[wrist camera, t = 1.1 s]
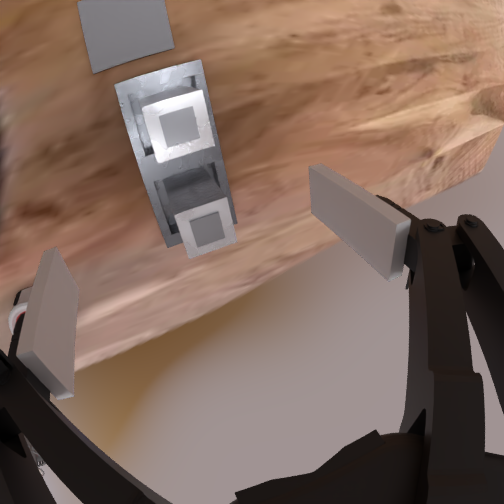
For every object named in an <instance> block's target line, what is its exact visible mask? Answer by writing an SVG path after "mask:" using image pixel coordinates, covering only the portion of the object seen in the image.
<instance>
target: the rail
mask: <svg viewBox="0 0 504 504" xmlns="http://www.w3.org/2000/svg"><path fill="white" fill-rule="evenodd" d="M114 85H115V89H116V93H117V96H118V100H119V104H120V107H121V111H122V114H123V117H124V121H125V124H126V128H127V131H128V134H129V137H130V141H131V144H132V147H133V150H134V153H135V157H136V160H137V163H138V166H139V169H140V172H141V175H142V178H143V181H144V184H145V187H146V190H147V193H148V196H149V198H150V201H151V204H152V207H153V210H154V213H155V215H156V218H157V221H158V224H159V226H160V229H161V232H162V234H163V237H164V240H165V242H166V245H167V248H169V247H172V246H175V245H177V244H180V243H183V240H182V237H181V234H180V232H179V229H178V226H177V223H176V220H175V217H174V214H173V211H172V208H171V205H170V202H169V199H168V196H167V193H166V190H165V186H164V183H163V179H166V178H169V177H172V176H175V175H178V174H181V173H184V172H187V171H190V170H193V169H196V168H199V167H202V166H203V167H204V168H205V170H206V171H207V172H208V173H209V175H210V176H211V177H212V179H213V180H214V181H215V182H216V184H217V185H218V186H219V188H220V189H221V190H222V192H223V193H224V194H225V195H226V197H227V200H228V204H229V208H230V213H231V217H232V221H233V225H234V224H237V220H236V215H235V211H234V206H233V202H232V197H231V193H230V189H229V184H228V180H227V175H226V171H225V166H224V162H223V157H222V153H221V148H220V144H219V139H218V135H217V130H216V126H215V121H214V117H213V112H212V108H211V103H210V99H209V94H208V89H207V85H206V80H205V76H204V71H203V66H202V62H201V59H200V60H195V61H191V62H187V63H183V64H179V65H175V66H172V67H168V68H164V69H161V70H157V71H154V72H150V73H147V74H144V75H141V76H138V77H134V78H131V79H128V80H125V81H122V82H120V83H117V84H114ZM180 86H188V87H192V88H197V89H201V90H203V95H204V99H205V104H206V108H207V113H208V117H209V122H210V126H211V130H212V135H213V139H214V144H215V146H212V147H209V148H205V149H202V150H199V151H196V152H192V153H189V154H186V155H183V156H180V157H177V158H174V159H171V160H168V161H165V162H162V163H159V164H158V163H157V159H156V156H155V153H154V150H153V147H152V144H151V140H150V137H149V134H148V130H147V127H146V123H145V120H144V116H143V112H142V109H141V105H140V101H139V99H140V98H143V97H146V96H149V95H152V94H156V93H159V92H162V91H166V90H169V89H172V88H176V87H180Z"/></svg>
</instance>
